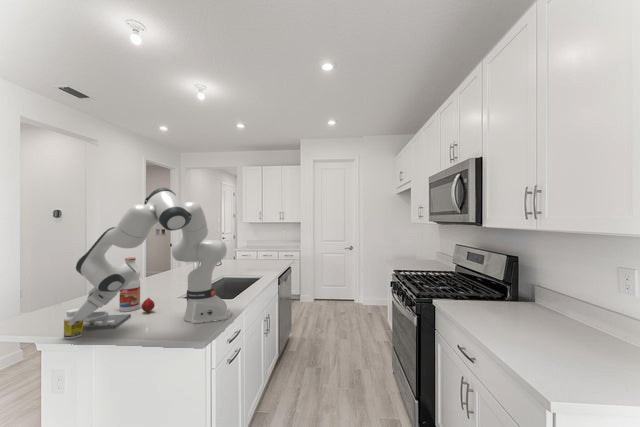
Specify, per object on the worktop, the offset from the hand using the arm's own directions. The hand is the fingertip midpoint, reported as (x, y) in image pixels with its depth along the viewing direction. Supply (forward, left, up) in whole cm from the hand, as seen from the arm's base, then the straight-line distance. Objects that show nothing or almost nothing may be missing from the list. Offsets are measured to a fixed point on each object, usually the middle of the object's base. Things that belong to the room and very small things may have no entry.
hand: (71, 321), depth 121 cm
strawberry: (-20, -27, -7) cm, 34 cm away
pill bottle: (-1, 0, -7) cm, 7 cm away
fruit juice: (-8, -35, -7) cm, 37 cm away
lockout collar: (-1, -15, -5) cm, 16 cm away
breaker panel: (-5, -14, -6) cm, 16 cm away
